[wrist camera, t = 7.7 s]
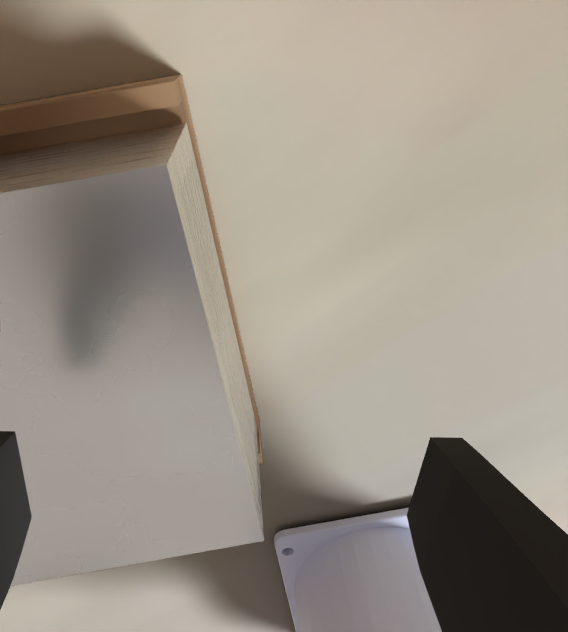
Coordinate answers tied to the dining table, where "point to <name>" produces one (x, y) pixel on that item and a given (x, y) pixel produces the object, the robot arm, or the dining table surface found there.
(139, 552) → the housing cover
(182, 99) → the housing base
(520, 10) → the dining table surface
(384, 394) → the dining table surface
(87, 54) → the dining table surface
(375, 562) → the robot arm
